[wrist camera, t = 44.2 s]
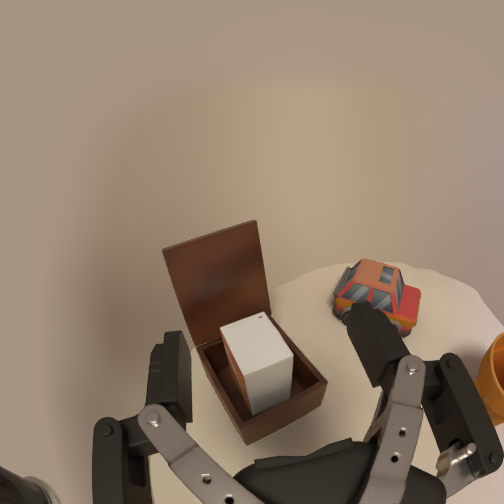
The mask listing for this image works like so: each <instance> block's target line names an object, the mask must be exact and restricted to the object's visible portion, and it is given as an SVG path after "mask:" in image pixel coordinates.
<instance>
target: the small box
mask: <svg viewBox="0 0 504 504" xmlns="http://www.w3.org/2000/svg"><path fill="white" fill-rule="evenodd" d="M220 332H221V336H222V339H223V343H224V347H225V351H226V355H227V359H228V362H229V366H230V370H231V374H232V378H233V379H234V381H235V383H236V385H237V387H238V389H239V391H240V393H241V395H242V397H243V399H244V401H245V403H246V405H247V407H248V409H249V411H250V413H251V415H252V416H256V415H258V414H260V413H263V412H265V411H267V410H269V409H271V408H273V407H275V406H277V405H279V404H281V403H283V402H285V401H286V400H288V399H290V394H291V383H292V370H293V353H292V351H291V350H290V348H289V347H288V345H287V344H286V343H285V341H284V340H283V338H282V336H281V335H280V333H279V332H278V330H277V329H276V327H275V326H274V325H273V324H272V322H271V321H270V320H269V318H268V317H267V315H266V314H265V312H261V313H258V314H255V315H253V316H250V317H247V318H244V319H242V320H239V321H236V322H234V323H231V324H228V325H225V326H223V327H220Z"/></svg>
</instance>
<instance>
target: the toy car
mask: <svg viewBox="0 0 504 504" xmlns="http://www.w3.org/2000/svg"><path fill="white" fill-rule="evenodd" d="M333 294H334V296H335V306H334V308H333V311H334V313H335V315H337V316H339V318H342V317H343V322H344V323H345V324H346V325H347V321H348V317H349V313H350V309H351V305H352V304H353V303H356V302H360V301H364V300H368V301H369V302H370V303H371V305H372V307H373V308H374V309H377V308H379V309H380V310H381V311H382V312H384V313H385V314H386V315H387V317H388V318H389V320H390V321H391V324H393V326H394V328H395V330H396V331H397V332H398V334H399V336H403V337H406V336H408V335H410V333H411V329H412V328H413V326H415V325H416V323H417V316H418V310H419V303H420V299H421V291H420V290H419V289H417V288H414V287H411V286H407V285H404V281H403V278H402V275H401V272H400V269H398V268H397V267H393V266H390V265H386V264H383V263H379V262H376V261H372V260H368V259H361V260H360V261H359V262H358V263H357V264H356V265H355V266H354V267H353V268H350V267H348V266H347V268H346V270H345V272H344V273H343V275H342V277H341V279H340V281H339V283H338V284H337V286H336V288H335V290H334V292H333ZM343 315H344V316H343Z"/></svg>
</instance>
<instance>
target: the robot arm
mask: <svg viewBox="0 0 504 504" xmlns="http://www.w3.org/2000/svg"><path fill="white" fill-rule="evenodd" d="M347 332H348V335H349V338H350V340H351V342H352V344H353V346H354V348H355V350H356V352H357V354H358V356H359V358H360V361H361V363H362V365H363V367H364V369H365V371H366V374H367V376H368V378H369V380H370V382H371V384H372V387H373V388H374V387H377V386H381V388H382V391H381V394H380V398H379V401H378V404H377V408H376V411H375V414H374V417H373V420H372V423H371V425H370V427H369V429H368V431H367V433H366V435H365V437H364V440H363V442H360V441H352V438H348V439H345V440H341V441H338V442H335V443H331V444H328V445H326V446H325V447H323V448H321V449H319V450H317V451H315V452H313V453H311V454H309V455H307V456H275V457H270V458H263V459H256V460H254V462H255V464H252V465H250V466H248V467H246V468H244V469H242V470H241V471H239V472H238V473H237V474H236V475H235V476H234V477H232V476H230V475H229V474H228V473H227V472H226V471H225V470H224V469H223V468H222V467H220V466H219V465H218V464H217V463H216V462H215V461H214V460H213V459H212V458H211V457H210V456H209V455H208V454H207V453H206V452H205V451H204V450H203V449H202V448H201V447H200V446H199V445H198V444H197V443H196V442H195V441H194V440H193V439H192V438H191V437H190V436H189V435H188V433H187V432H186V423H192V422H193V419H192V380H191V354H190V351H189V348H188V345H187V343H186V340H185V338H184V335H183V333H182V331H181V330H180V331H170V332H165V334H164V343H163V344H156V345H155V347H154V349H153V350H152V353H151V357H150V366H149V373H148V384H147V394H146V403H145V406H144V408H143V409H142V410H141V411H140V413H139V414H137V415H136V416H133V417H130V418H127V419H123V420H120V421H117V420H115V419H114V418H111V417H105V418H102V419H100V420H99V421H98V422H97V423H96V425H95V427H94V434H93V454H92V492H93V504H152V497H151V486H150V475H149V461H148V456H149V455H152V454H156V453H160V454H161V455H162V456H163V458H164V459H165V460H166V461H167V463H168V466H169V467H170V469H171V470H172V471H173V472H174V474H175V475H176V476H177V477H178V478H179V479H180V480H181V481H182V482H183V483H184V485H185V486H186V487H187V488H188V489H189V490H190V491H191V492H192V493H193V494H194V495H195V496H196V497H197V498H198V499H199V500H200V501H201V502H202V503H203V504H446V499H447V498H448V497H450V496H452V495H453V494H455V493H456V492H458V491H459V490H461V489H463V488H464V487H465V486H467V485H468V484H470V483H471V482H473V481H475V480H477V479H479V478H482V477H484V476H486V475H488V474H491V473H493V472H495V471H496V470H498V469H499V467H500V466H501V464H502V462H503V459H504V452H503V449H502V446H501V443H500V440H499V438H498V435H497V433H496V430H495V428H494V425H493V423H492V421H491V418H490V416H489V414H488V412H487V409H486V407H485V405H484V403H483V401H482V399H481V397H480V395H479V393H478V391H477V389H476V387H475V385H474V383H473V381H472V379H471V377H470V375H469V373H468V371H467V370H466V368H465V366H464V364H463V362H462V361H461V359H460V358H459V357H458V356H457V355H456V354H453V353H446V354H444V355H443V356H442V357H441V358H440V360H435V361H423V360H422V359H420V358H419V357H417V356H414V355H411V354H410V352H409V351H408V349H407V347H406V346H405V344H404V342H403V341H402V339H401V337H400V336H399V334H398V332H397V331H396V330H395V328H394V326H393V324H391V321H390V320H389V318H388V317H387V315H386V314H385V313H384V312H382V311H381V310H380V309H379V308H377V309H374V308H373V307H372V305H371V303H370V302H369V301H368V300H364V301H360V302H356V303H353V304H352V305H351V309H350V313H349V317H348V321H347ZM420 404H422V407H423V408H421V407H420ZM423 409H424V411H425V414H426V416H427V419H428V421H429V424H430V426H431V429H432V432H433V434H434V437H435V440H436V442H437V445H438V448H439V451H440V455H439V457H438V460H437V464H436V469H437V470H438V473H437V476H436V477H435V476H433V475H431V474H429V473H427V472H425V471H423V470H421V469H418V468H416V467H414V466H412V465H411V462H412V459H413V456H414V452H415V448H416V445H417V441H418V437H419V433H420V428H421V424H422V419H423V413H424V411H423ZM0 504H52V502H51V499H50V497H49V495H48V494H47V492H46V491H45V490H44V489H43V488H42V487H41V486H40V485H38V484H36V483H34V482H32V481H28V480H26V479H24V478H22V477H20V476H18V475H16V474H14V473H12V472H10V471H8V470H6V469H5V468H3V467H1V466H0Z"/></svg>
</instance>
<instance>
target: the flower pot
mask: <svg viewBox="0 0 504 504" xmlns="http://www.w3.org/2000/svg"><path fill="white" fill-rule="evenodd" d="M474 385H475V387H476V389H477V391H478V393H479V395H480V397H481V399H482V401H483V403H484V405H485V407H486V409H487V412H488V414H489V416H490V418H491V421H492V423H493V425H494V426H497V425H499V424H501V423H504V332H503V333H501V334H500V335H499V336H498V337H497V338H496V339H495V340H494V342H493V343H492V345H491V346H490V348H489V349H488V351H487V352H486V354H485V355H484V357H483V359H482V362H481V365H480V370H479V375H478V376H477V378H476V380H475V382H474Z"/></svg>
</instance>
